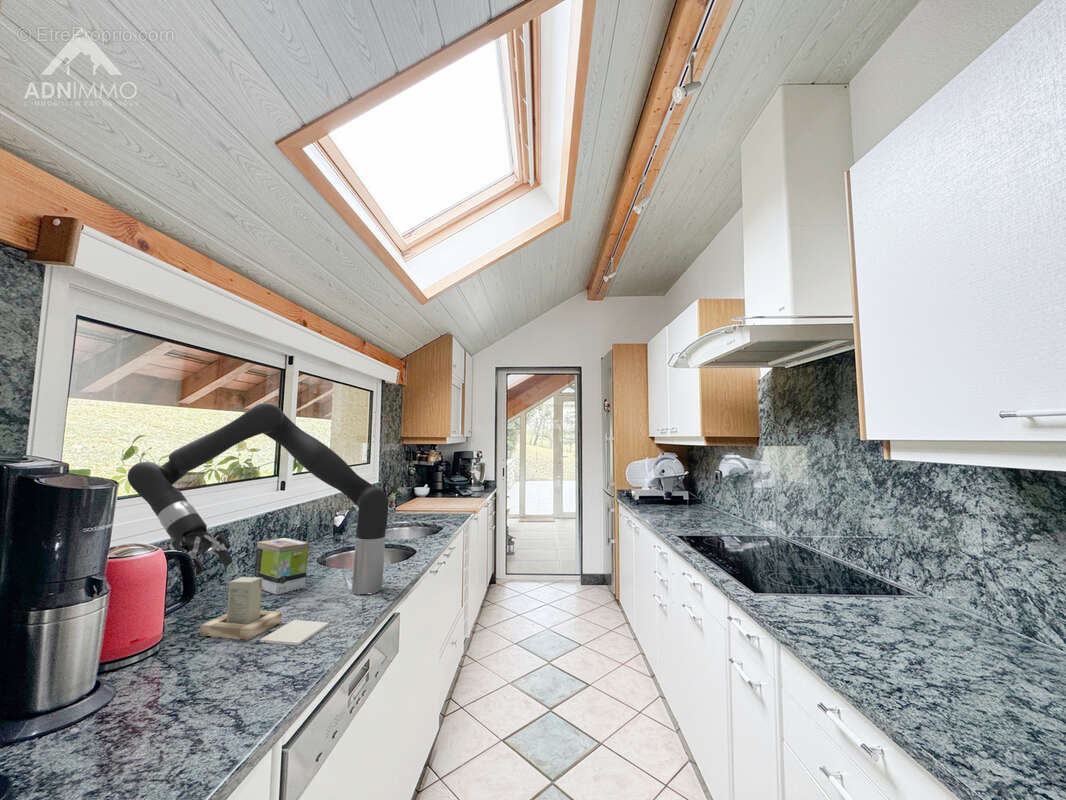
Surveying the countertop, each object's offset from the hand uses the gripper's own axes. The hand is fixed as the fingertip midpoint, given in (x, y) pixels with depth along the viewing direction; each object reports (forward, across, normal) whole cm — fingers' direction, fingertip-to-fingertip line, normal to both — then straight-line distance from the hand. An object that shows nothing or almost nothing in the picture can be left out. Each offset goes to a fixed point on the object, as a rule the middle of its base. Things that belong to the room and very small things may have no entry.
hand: (215, 568), depth 112 cm
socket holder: (+17, 0, +4) cm, 17 cm away
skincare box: (+17, 0, +4) cm, 17 cm away
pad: (+27, 0, -7) cm, 28 cm away
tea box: (+7, +31, +14) cm, 34 cm away
